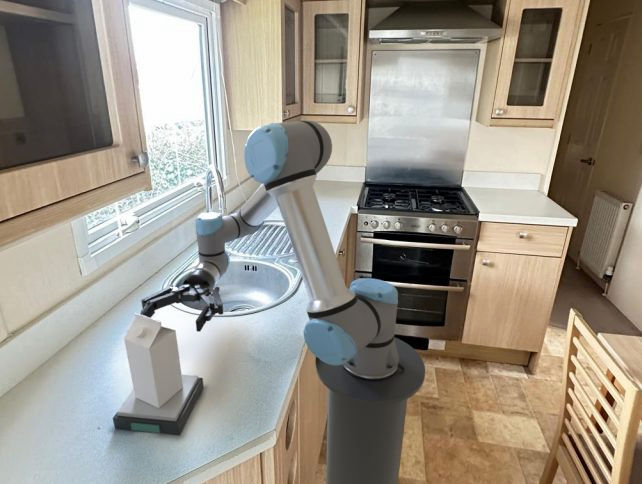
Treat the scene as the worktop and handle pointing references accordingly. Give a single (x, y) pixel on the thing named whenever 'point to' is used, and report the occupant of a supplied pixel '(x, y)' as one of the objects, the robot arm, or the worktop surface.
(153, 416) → the kitchen scale
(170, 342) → the milk carton
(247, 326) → the worktop surface
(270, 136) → the robot arm
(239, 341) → the worktop surface
